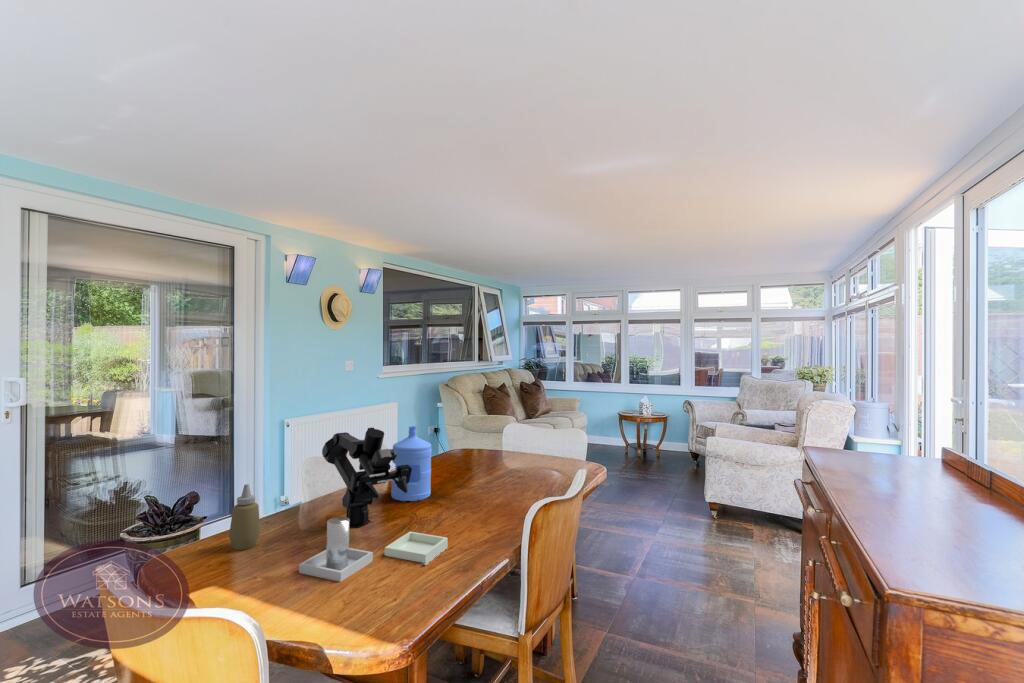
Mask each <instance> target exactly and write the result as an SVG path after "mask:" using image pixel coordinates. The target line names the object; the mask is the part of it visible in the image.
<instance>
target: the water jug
mask: <svg viewBox="0 0 1024 683" xmlns="http://www.w3.org/2000/svg"><path fill="white" fill-rule="evenodd" d="M417 428H418V426H413V425H412V426H408V437H406V438H404V439H401V440H399V441H397V442H395V443H393V445H392V449H394V450H395V452H396V454H397V456H396V458H395V460H392V463H393V464H394V465H395V470H394V471H395V472H396V469H397V466H401V465H409V466H410V467H411V468H412V471H411V475H410V479H409V483H407V490H408V491H407V493H405V492H403V491H402V490H401V489H399V488H398V487H397V484H396V483H395V480H394V481H391V491H390V493H391V495H390V496H391V498H392V499H394V500H396V501H398V500H399V502H406V501H410V502H418V500H419V501H424V500H426V499H427V498H429V497H430V496H431V493H432V492H431V491H432V489H431V478H432V477H431V475H432V454H433V452H432V451H433V450H432V444H431V442H429V441H426V440H424V439H422V438H420V437H418V436H417V433H418V432H417ZM395 472H394V473H395Z"/></svg>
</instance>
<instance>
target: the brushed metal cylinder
mask: <svg viewBox="0 0 1024 683" xmlns="http://www.w3.org/2000/svg"><path fill="white" fill-rule="evenodd" d="M349 525H350V519H349V518H347V517H345V516H335V517H331V518H329V519H327V521H326V547H325V548H326V549H325V550H326V568H330V569H335V570H342V569H344V568H346V567H347V566H348V559H349V548H350V526H349Z"/></svg>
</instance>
